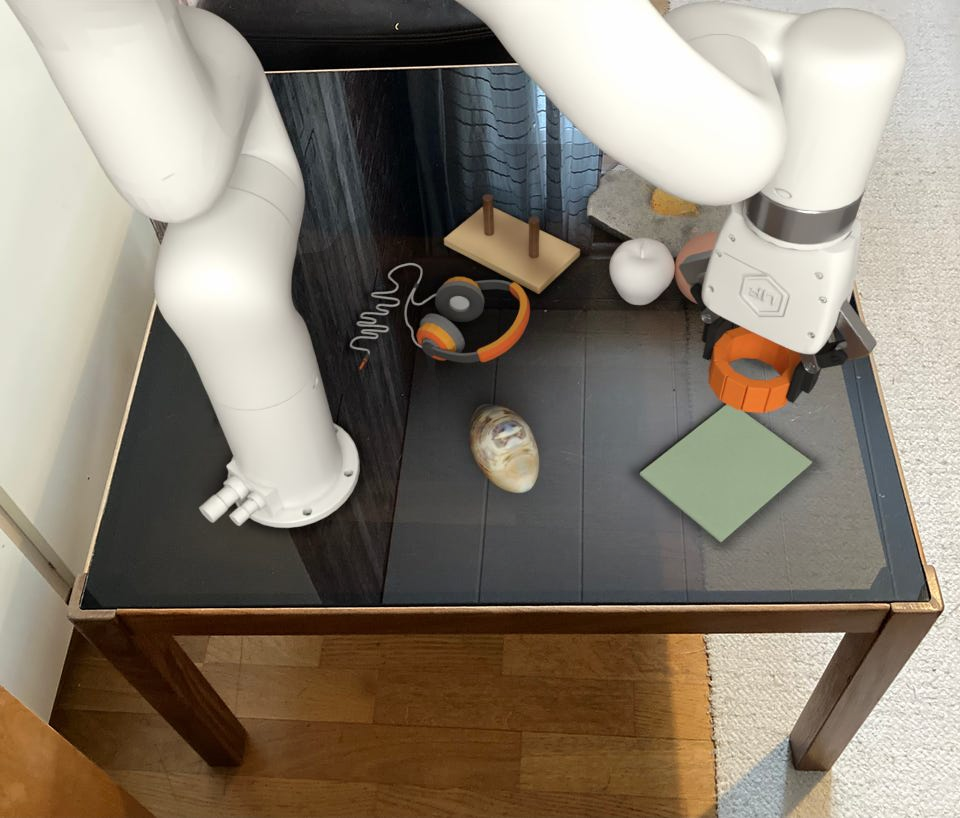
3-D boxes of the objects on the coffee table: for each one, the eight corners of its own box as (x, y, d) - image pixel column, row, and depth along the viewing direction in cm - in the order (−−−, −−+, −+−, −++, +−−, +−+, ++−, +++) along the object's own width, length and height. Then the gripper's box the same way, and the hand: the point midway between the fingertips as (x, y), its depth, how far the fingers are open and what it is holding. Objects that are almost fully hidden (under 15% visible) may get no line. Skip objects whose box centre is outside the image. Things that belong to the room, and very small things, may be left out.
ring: (768, 426, 75) (775, 402, 73) (692, 386, 78) (697, 362, 76) (808, 374, 79) (817, 350, 76) (734, 338, 82) (740, 314, 79)
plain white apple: (605, 314, 102) (610, 258, 96) (608, 269, 107) (613, 214, 101) (670, 318, 102) (679, 262, 95) (670, 273, 106) (679, 217, 100)
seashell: (554, 495, 88) (556, 444, 82) (499, 519, 87) (497, 469, 80) (508, 424, 94) (507, 372, 87) (456, 445, 92) (451, 393, 86)
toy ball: (729, 241, 106) (664, 236, 104) (764, 228, 98) (695, 222, 96) (727, 312, 106) (662, 308, 104) (763, 304, 98) (693, 300, 96)
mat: (720, 542, 84) (721, 540, 84) (639, 474, 89) (639, 472, 89) (811, 463, 89) (812, 461, 89) (729, 403, 94) (730, 401, 94)
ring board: (538, 294, 105) (539, 252, 100) (444, 245, 111) (440, 203, 106) (580, 255, 109) (582, 213, 104) (486, 210, 115) (484, 168, 110)
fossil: (756, 217, 113) (763, 192, 110) (672, 275, 106) (676, 251, 103) (644, 154, 122) (647, 130, 119) (559, 204, 115) (560, 180, 112)
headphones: (383, 244, 107) (545, 248, 99) (397, 279, 111) (555, 286, 103) (318, 348, 98) (492, 362, 89) (336, 382, 101) (505, 399, 93)
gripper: (663, 180, 66) (642, 351, 80) (901, 280, 59) (832, 449, 73) (717, 129, 70) (688, 301, 83) (948, 217, 62) (874, 390, 76)
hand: (755, 368), depth 78 cm, fingers closed on ring, 7 cm apart
